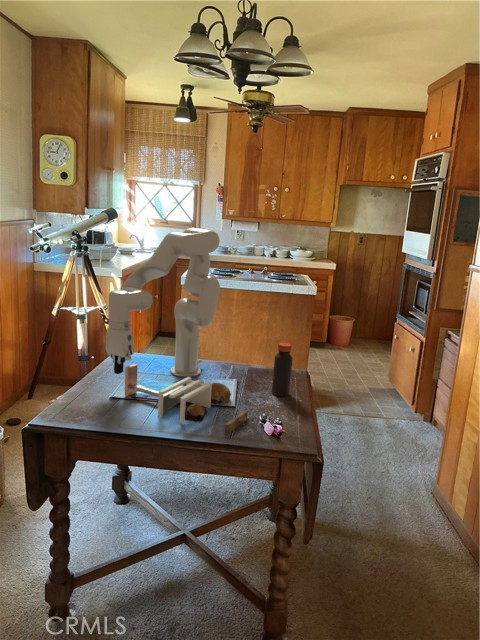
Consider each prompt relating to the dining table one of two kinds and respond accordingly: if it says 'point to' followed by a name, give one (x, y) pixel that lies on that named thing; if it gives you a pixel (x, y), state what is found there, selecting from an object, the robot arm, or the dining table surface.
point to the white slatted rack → (187, 395)
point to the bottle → (282, 370)
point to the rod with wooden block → (132, 388)
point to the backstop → (235, 422)
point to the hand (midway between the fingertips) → (118, 372)
